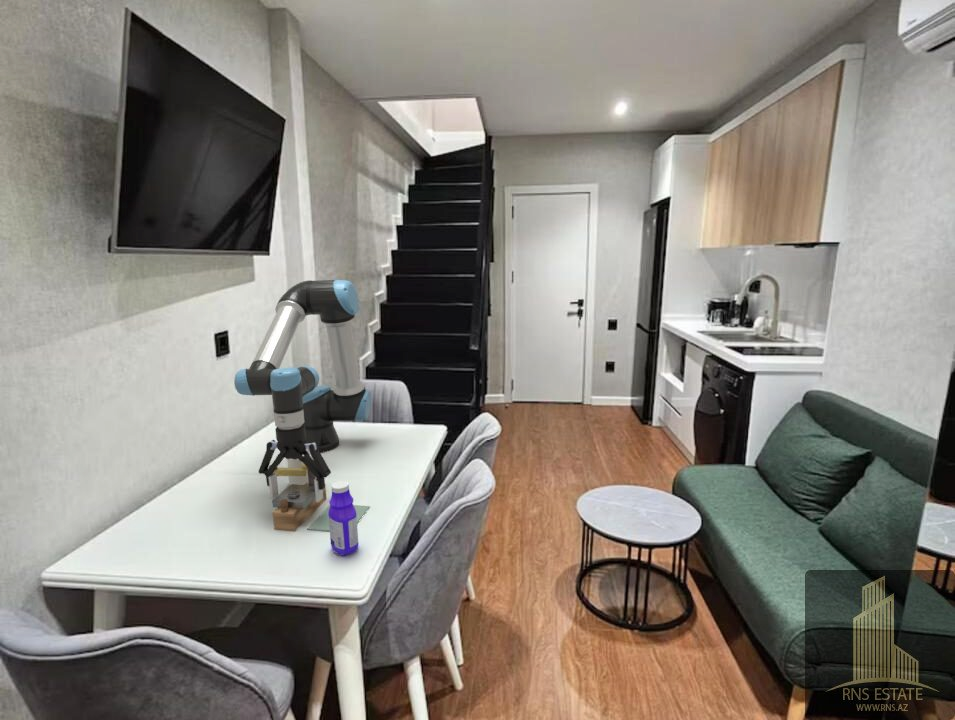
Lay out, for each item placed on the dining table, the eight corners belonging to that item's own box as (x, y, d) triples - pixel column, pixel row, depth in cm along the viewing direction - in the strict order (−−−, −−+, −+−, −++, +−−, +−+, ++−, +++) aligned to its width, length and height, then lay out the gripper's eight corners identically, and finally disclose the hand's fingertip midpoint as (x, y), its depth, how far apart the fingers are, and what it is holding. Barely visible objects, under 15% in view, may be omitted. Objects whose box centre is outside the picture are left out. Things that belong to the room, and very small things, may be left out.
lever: (319, 472, 148) (318, 460, 148) (315, 477, 145) (314, 465, 144) (273, 472, 149) (271, 460, 148) (267, 477, 146) (266, 465, 145)
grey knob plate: (292, 490, 145) (291, 482, 144) (321, 492, 143) (320, 484, 143) (272, 507, 135) (271, 498, 135) (303, 509, 134) (302, 500, 133)
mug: (319, 492, 154) (316, 460, 152) (284, 490, 156) (281, 458, 154) (332, 480, 162) (330, 449, 160) (299, 478, 165) (296, 447, 163)
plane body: (308, 497, 151) (304, 463, 149) (326, 499, 150) (323, 464, 148) (274, 529, 134) (270, 491, 131) (294, 531, 133) (290, 492, 130)
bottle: (363, 549, 124) (358, 484, 120) (343, 560, 119) (338, 492, 116) (346, 539, 128) (341, 476, 125) (327, 548, 124) (321, 483, 121)
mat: (331, 504, 147) (331, 503, 146) (369, 507, 144) (369, 506, 144) (307, 529, 133) (307, 528, 133) (349, 533, 131) (349, 532, 131)
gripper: (239, 428, 134) (248, 501, 138) (326, 431, 129) (332, 507, 133) (256, 419, 141) (264, 489, 145) (339, 422, 136) (344, 494, 140)
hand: (297, 498), depth 139 cm, fingers open, 13 cm apart
